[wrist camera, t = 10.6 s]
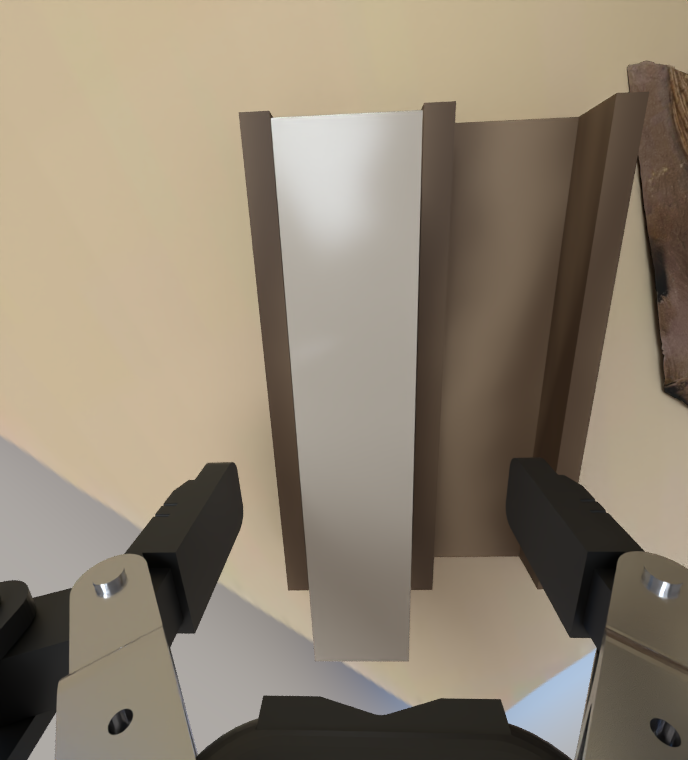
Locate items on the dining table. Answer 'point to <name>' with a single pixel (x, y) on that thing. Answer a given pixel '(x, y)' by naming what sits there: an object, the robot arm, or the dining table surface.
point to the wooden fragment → (667, 207)
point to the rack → (478, 313)
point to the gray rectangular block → (353, 365)
